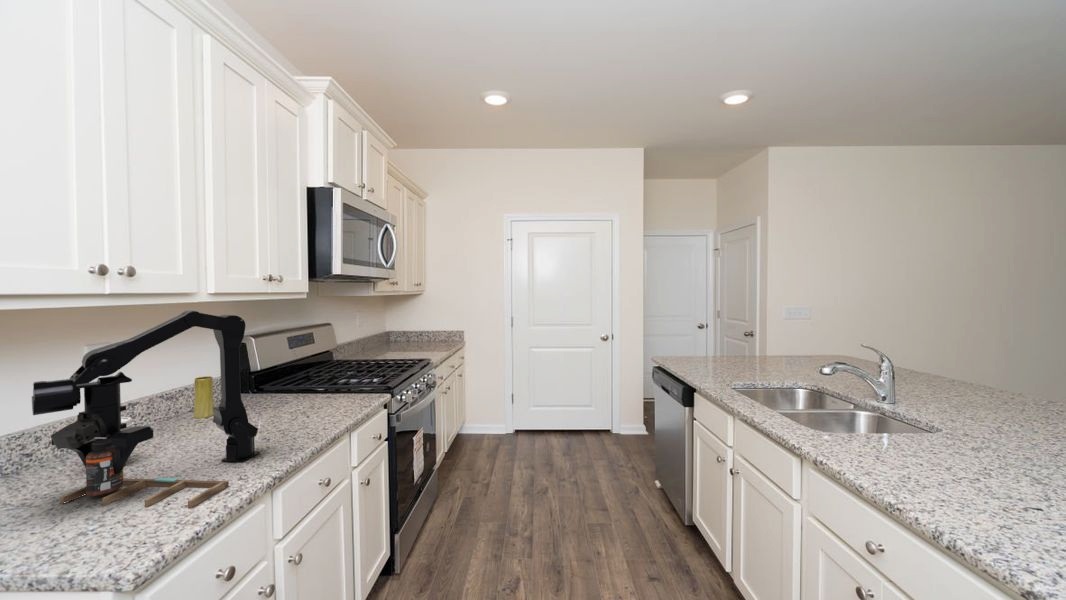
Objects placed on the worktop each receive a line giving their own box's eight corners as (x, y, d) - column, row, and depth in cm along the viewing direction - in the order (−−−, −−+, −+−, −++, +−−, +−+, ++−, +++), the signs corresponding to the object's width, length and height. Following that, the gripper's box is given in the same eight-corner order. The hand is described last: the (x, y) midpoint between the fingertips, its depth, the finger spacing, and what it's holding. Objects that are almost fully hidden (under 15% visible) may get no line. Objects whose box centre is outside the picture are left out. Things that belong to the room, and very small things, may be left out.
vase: (189, 417, 153) (188, 378, 153) (206, 412, 159) (206, 375, 159) (201, 418, 152) (201, 379, 151) (218, 414, 158) (218, 376, 157)
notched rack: (109, 482, 101) (109, 476, 101) (228, 486, 99) (228, 479, 99) (60, 504, 91) (59, 497, 91) (191, 508, 89) (191, 501, 89)
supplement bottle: (115, 494, 93) (113, 443, 93) (79, 499, 91) (78, 447, 91) (129, 482, 99) (128, 435, 98) (96, 487, 96) (94, 438, 96)
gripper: (19, 414, 87) (21, 488, 87) (102, 415, 86) (104, 491, 86) (80, 400, 98) (82, 466, 98) (154, 401, 97) (156, 468, 97)
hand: (104, 472), depth 95 cm, fingers closed on supplement bottle, 6 cm apart
